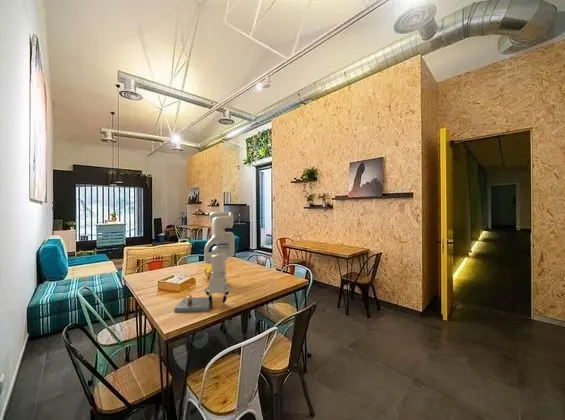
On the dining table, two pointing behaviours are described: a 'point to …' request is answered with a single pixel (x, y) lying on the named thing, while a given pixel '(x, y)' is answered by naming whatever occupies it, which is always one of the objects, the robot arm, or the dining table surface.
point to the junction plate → (194, 304)
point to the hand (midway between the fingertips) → (217, 302)
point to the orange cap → (218, 302)
